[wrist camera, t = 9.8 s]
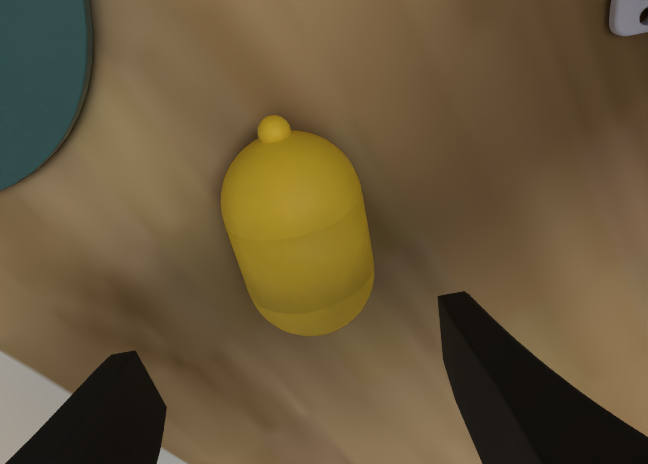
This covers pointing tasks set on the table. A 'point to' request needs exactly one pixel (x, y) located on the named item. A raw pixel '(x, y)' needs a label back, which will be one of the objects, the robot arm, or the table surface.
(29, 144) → the lid
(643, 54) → the table surface
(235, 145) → the table surface
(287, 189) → the small lemon
